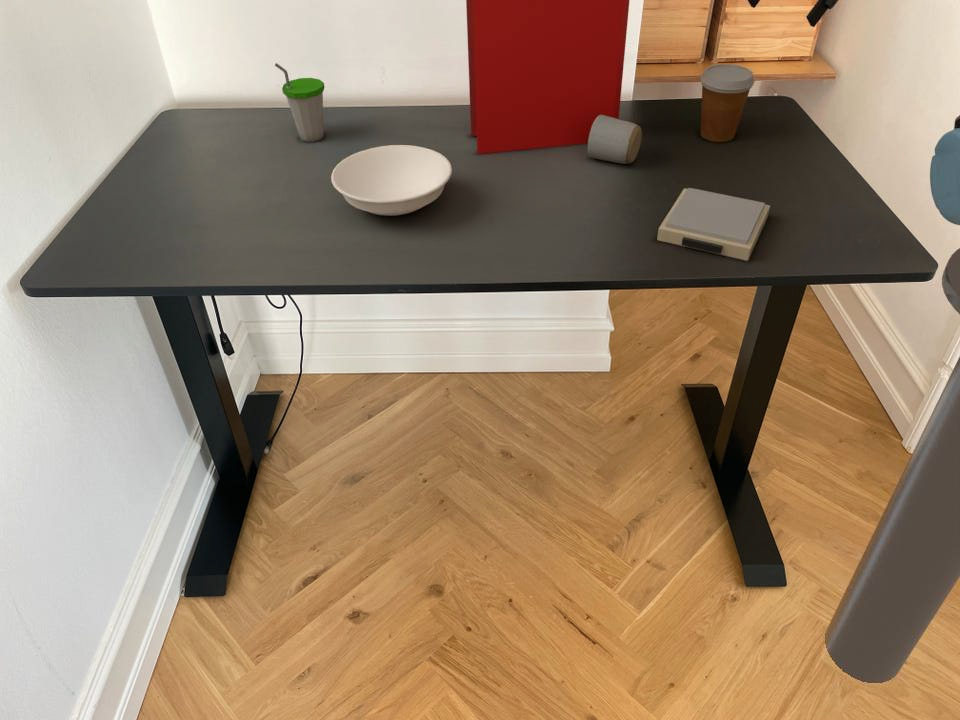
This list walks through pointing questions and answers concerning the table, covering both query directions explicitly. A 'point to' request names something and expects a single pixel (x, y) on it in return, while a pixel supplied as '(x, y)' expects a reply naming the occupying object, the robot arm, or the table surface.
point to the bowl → (392, 178)
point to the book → (543, 70)
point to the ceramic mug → (614, 140)
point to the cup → (305, 105)
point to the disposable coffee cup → (723, 100)
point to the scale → (714, 223)
